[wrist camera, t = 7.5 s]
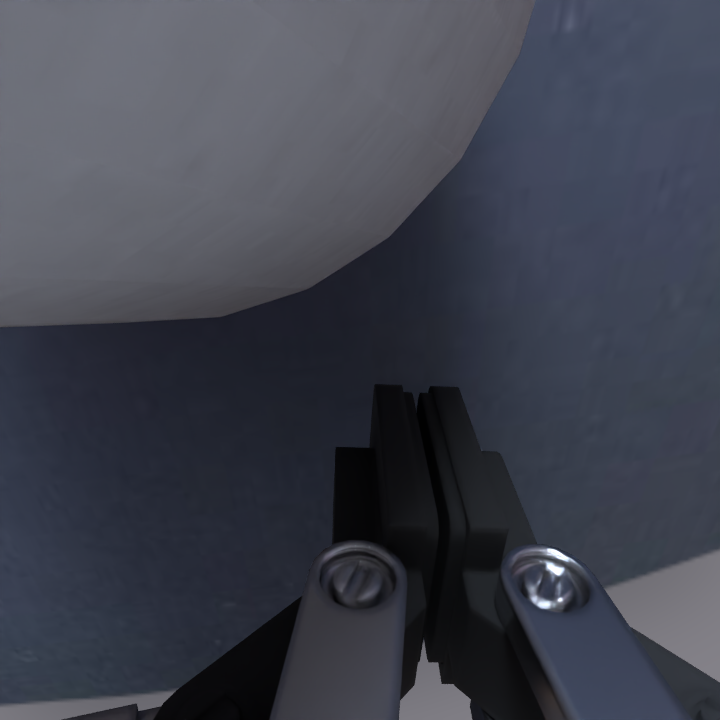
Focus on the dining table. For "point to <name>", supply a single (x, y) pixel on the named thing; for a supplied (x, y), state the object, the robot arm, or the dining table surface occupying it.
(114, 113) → the coffee pot
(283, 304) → the dining table surface
